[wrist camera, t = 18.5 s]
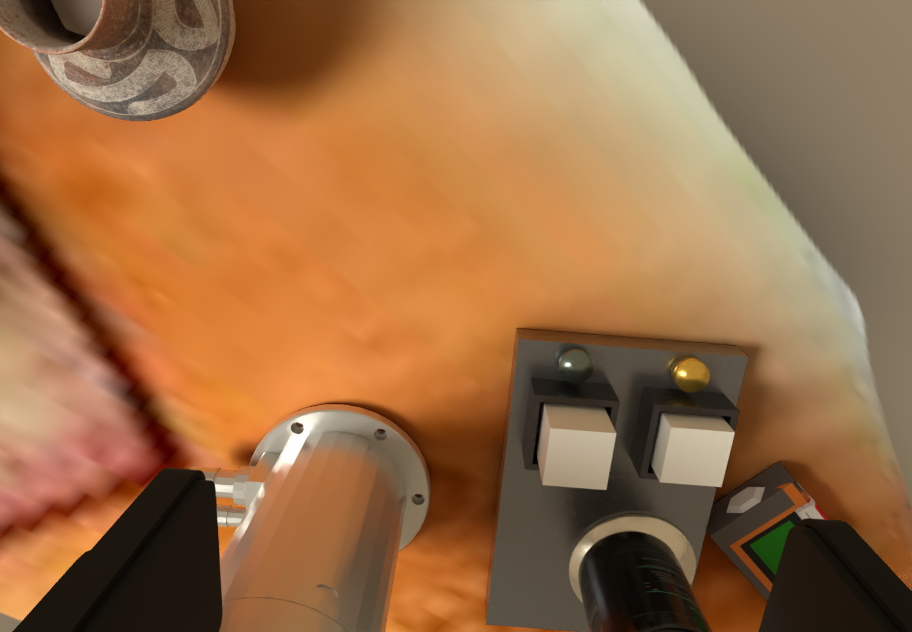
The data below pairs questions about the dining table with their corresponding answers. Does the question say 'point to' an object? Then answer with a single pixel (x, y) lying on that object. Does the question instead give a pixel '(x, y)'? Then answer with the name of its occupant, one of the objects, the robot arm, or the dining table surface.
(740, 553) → the electronic device
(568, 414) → the block
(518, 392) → the breaker board
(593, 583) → the supplement bottle
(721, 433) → the white cube
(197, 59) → the pottery
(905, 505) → the dining table surface
